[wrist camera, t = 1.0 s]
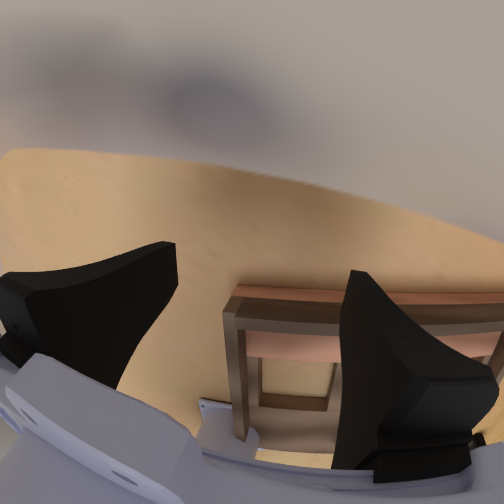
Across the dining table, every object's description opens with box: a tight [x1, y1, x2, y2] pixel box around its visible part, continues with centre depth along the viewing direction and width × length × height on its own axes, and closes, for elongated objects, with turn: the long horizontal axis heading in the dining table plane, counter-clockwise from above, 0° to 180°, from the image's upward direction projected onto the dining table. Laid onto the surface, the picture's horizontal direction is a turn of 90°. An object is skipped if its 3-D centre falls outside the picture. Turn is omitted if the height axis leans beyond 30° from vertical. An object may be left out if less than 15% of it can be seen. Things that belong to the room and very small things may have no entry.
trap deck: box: [222, 285, 504, 454], centre depth 23 cm, size 22×27×5 cm
